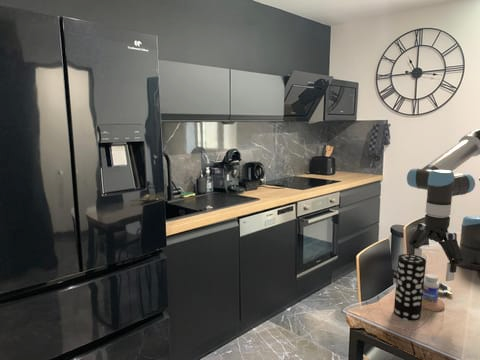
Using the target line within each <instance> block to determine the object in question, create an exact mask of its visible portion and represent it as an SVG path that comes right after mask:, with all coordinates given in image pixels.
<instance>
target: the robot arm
mask: <svg viewBox="0 0 480 360" xmlns="http://www.w3.org/2000/svg"><path fill="white" fill-rule="evenodd" d="M477 156H480V128H477V129H475V130H472V131H470V132H468V133H467V134H465V135H464V136H462V137H461V138H460V139H459V141H458V143H457V144H455V145H454V146H452V147H451V148H449V149H448V150H447V151H445V152H444V153H442V154H441V155H440V156H438V157H436V158H435V159H434V160H433V161H431V162H429V163H428V164H427V165H426V166H424V167H423V168H411V169H410V170H409V171H408V173H407V175H406V181H407V182H406V183H407V185H408V186H410V187H411V188H416V189H417V190H418V189H420V190H425V191H426V202H425V212H424V213H426V214H425V215H424V222H422V223H421V222H420V223H417V227H416V230H415V232H414V233H413V234H412V237H411V238H410V240H409V242H408V244H409V245H410V246H412V248H413V250H412V252H413V253H412V255H416V256H420V257H422V255H423V254H422V252H423V248H422V246H423V245H424V244H425V243H426V242H427V241H428V240H430V241H433V242H436V243H438V244H439V246H441V248H442V250H443V252H444V254H445V256H446V257H447V259H448V261H447V264H446V274H445V281H446V282H451V281H454V279H455V273H456V272H457V270H458V269H457V267H458V266H459V267H462V268H464V269H469V270H474V271H478V270H480V215H478V214H477V215H476V214H475V215H474V214H473V215H466V216H464V217H463V218H462V222H461V223H462V224H461V231H460V240H459V243H458V238H457V233H456V232H449V230H448V229H449V227H450V224H451V222H450V221H451V217H450V215H451V210H452V202H453V201H452V200H453V197H455V196H463V195H466V194H469V193H471V192H473V191H474V189H475V187H476V181H475V178H474V177H473V176H472V175H471V174H469V173H466V172H465V173H463V172H459V173H454V172H453V171H455V170H456V169H458V168H459V167H460V166H461V165H463V164H464V163H466V162H467V161H468V160H470V159H471V158H472V157H477ZM424 232H425V233H424ZM423 233H424V234H423Z"/></svg>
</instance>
